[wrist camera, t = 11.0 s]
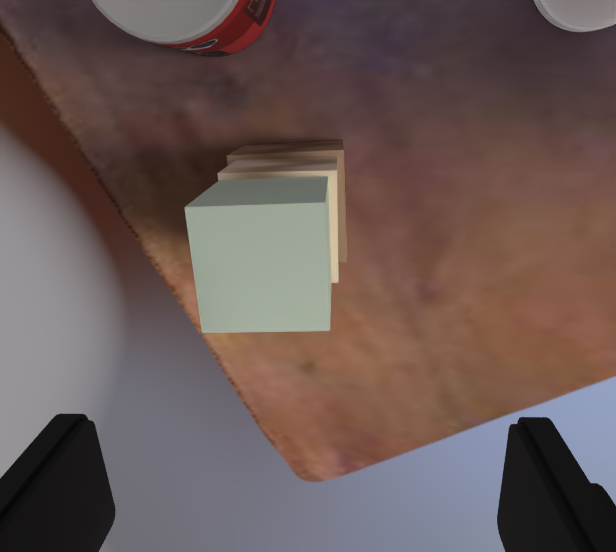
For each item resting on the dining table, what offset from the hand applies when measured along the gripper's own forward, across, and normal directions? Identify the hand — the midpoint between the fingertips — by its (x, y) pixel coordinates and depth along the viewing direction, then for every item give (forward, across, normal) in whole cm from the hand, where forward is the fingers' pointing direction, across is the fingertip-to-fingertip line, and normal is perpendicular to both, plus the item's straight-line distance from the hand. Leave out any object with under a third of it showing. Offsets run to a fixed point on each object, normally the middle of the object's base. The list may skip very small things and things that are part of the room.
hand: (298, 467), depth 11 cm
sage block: (+16, +2, -1) cm, 16 cm away
